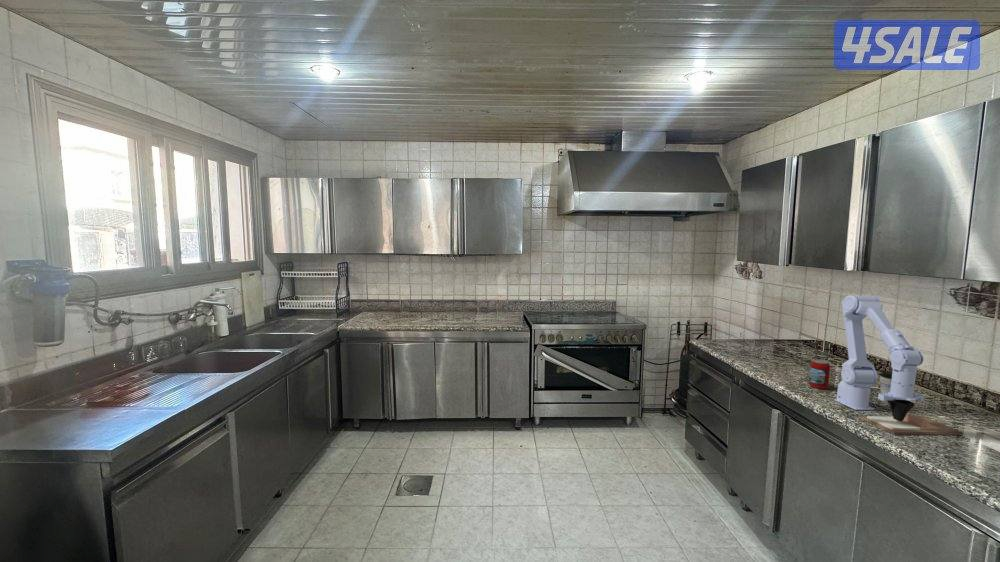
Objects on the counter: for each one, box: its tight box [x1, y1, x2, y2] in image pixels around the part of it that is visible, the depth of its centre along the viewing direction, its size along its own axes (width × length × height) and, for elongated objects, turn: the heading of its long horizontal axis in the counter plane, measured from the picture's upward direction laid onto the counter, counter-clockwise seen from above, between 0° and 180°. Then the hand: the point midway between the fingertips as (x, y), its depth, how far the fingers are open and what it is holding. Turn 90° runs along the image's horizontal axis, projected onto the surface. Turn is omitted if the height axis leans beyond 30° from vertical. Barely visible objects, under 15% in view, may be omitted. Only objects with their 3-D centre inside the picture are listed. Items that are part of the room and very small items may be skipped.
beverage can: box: [808, 359, 831, 390], centre depth 175 cm, size 7×7×12 cm
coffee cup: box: [878, 371, 893, 394], centre depth 165 cm, size 7×7×10 cm
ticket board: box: [859, 415, 963, 436], centre depth 138 cm, size 12×24×2 cm, turn 92°
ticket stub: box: [904, 412, 940, 430], centre depth 138 cm, size 9×6×3 cm, turn 2°
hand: (898, 419), depth 138 cm, fingers closed
